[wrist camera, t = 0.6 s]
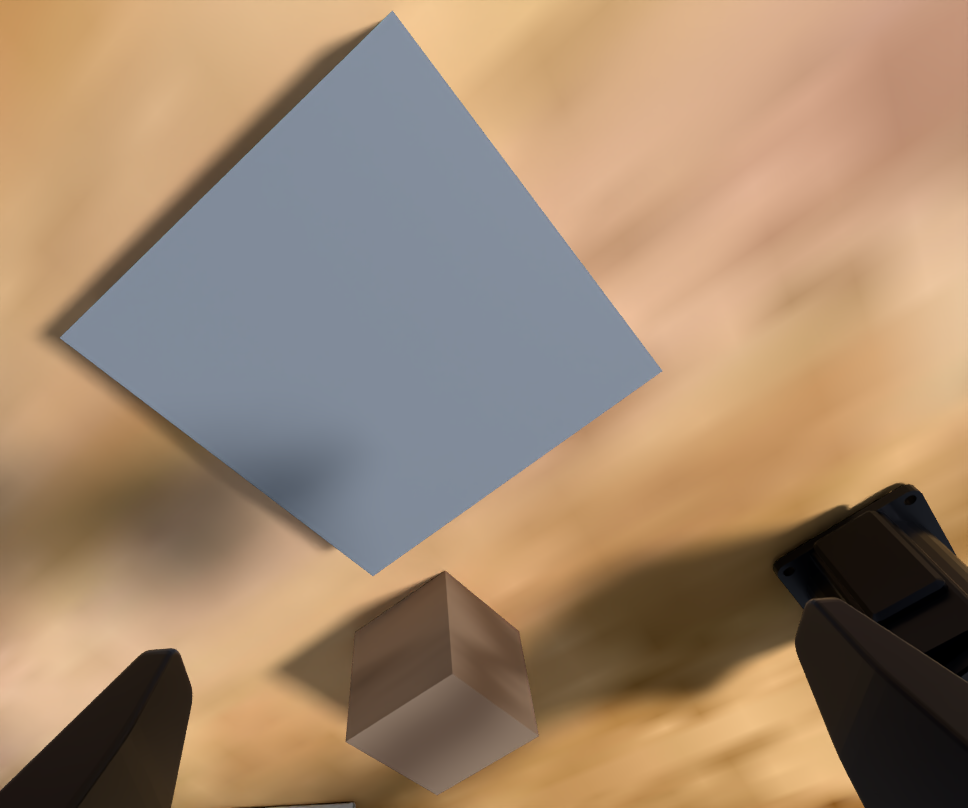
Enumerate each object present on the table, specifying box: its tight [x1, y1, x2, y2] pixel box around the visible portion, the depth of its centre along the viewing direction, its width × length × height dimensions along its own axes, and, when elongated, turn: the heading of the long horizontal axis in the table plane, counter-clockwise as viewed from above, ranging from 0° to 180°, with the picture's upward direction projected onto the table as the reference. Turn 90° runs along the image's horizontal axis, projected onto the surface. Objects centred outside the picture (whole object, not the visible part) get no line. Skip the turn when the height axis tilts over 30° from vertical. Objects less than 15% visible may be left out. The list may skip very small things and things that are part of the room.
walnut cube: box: [346, 571, 539, 795], centre depth 26 cm, size 5×5×5 cm
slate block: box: [60, 11, 662, 576], centre depth 20 cm, size 12×12×3 cm
